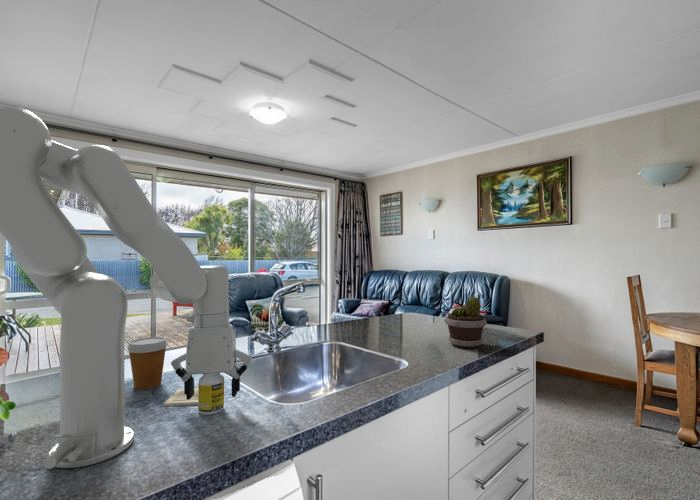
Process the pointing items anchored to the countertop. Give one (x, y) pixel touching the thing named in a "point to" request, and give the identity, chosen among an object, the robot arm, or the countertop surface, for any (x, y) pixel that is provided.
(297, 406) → the countertop surface
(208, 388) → the supplement bottle
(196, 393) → the coaster
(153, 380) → the disposable coffee cup
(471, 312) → the flowerpot
